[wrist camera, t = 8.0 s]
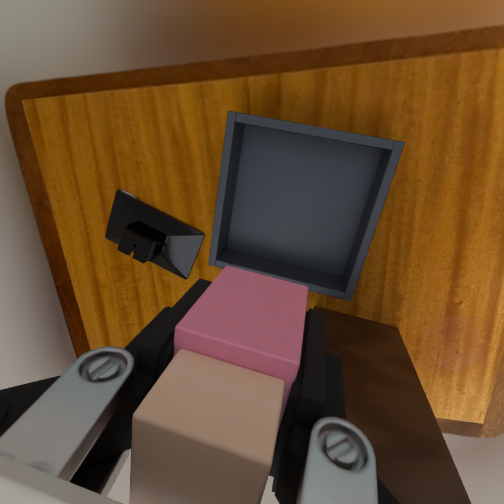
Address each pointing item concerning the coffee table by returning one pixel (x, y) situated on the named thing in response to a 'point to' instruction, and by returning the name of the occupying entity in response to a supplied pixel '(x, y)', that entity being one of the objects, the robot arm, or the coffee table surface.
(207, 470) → the pink block
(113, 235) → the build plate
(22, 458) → the robot arm
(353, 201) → the basin
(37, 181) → the coffee table surface
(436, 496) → the stand
